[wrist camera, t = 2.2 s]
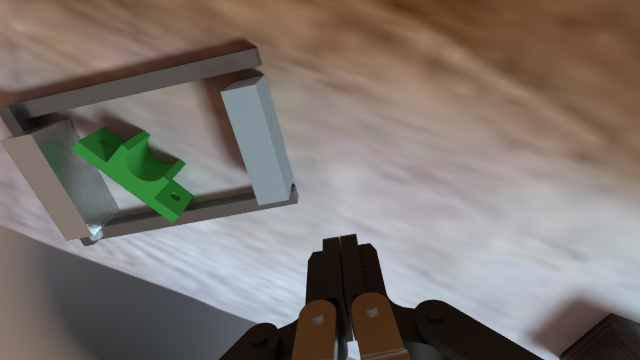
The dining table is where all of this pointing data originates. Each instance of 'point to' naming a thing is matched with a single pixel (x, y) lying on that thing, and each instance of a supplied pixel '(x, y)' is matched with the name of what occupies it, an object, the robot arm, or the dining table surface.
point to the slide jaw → (259, 138)
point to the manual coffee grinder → (607, 341)
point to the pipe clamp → (136, 170)
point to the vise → (83, 178)
